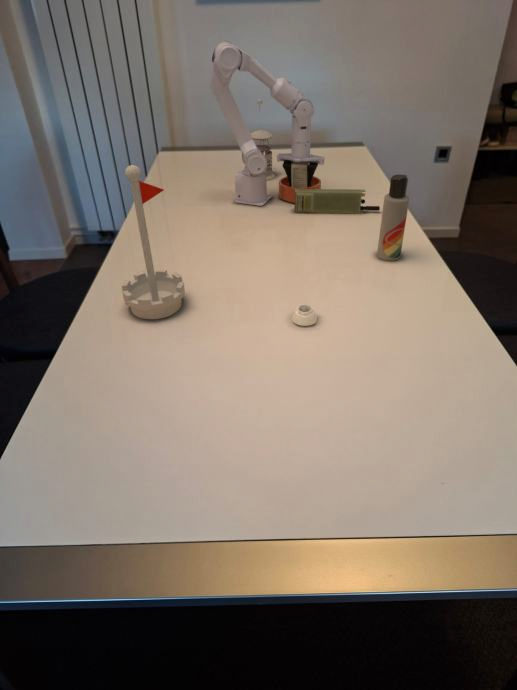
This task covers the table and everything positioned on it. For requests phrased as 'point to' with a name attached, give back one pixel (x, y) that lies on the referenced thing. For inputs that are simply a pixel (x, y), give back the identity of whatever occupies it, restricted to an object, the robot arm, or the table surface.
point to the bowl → (289, 192)
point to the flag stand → (150, 265)
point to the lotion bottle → (393, 219)
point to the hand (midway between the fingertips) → (299, 185)
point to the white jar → (304, 315)
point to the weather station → (264, 147)
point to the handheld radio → (331, 201)
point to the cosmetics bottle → (299, 175)
